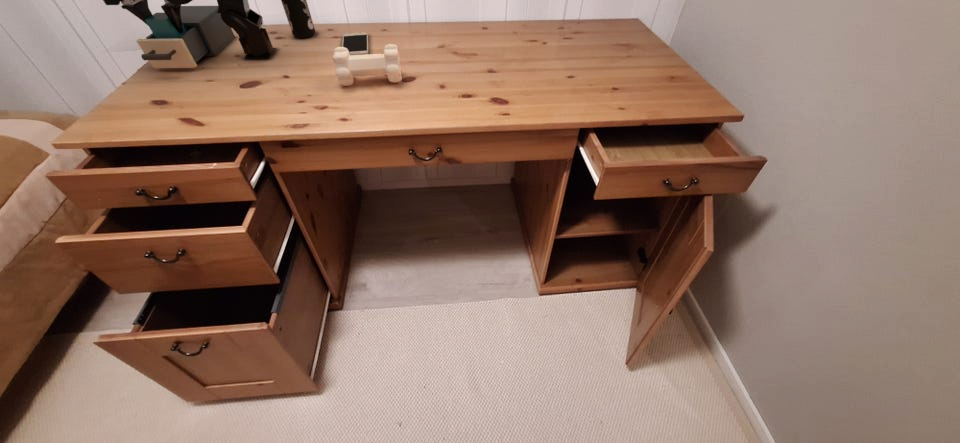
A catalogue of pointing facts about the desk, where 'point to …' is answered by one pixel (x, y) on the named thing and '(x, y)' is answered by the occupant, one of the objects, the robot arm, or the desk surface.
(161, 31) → the block
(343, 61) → the bone shaped toy
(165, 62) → the drawer
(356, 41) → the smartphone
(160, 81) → the desk surface
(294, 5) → the beverage can
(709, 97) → the desk surface
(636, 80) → the desk surface
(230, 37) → the cabinet
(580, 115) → the desk surface
